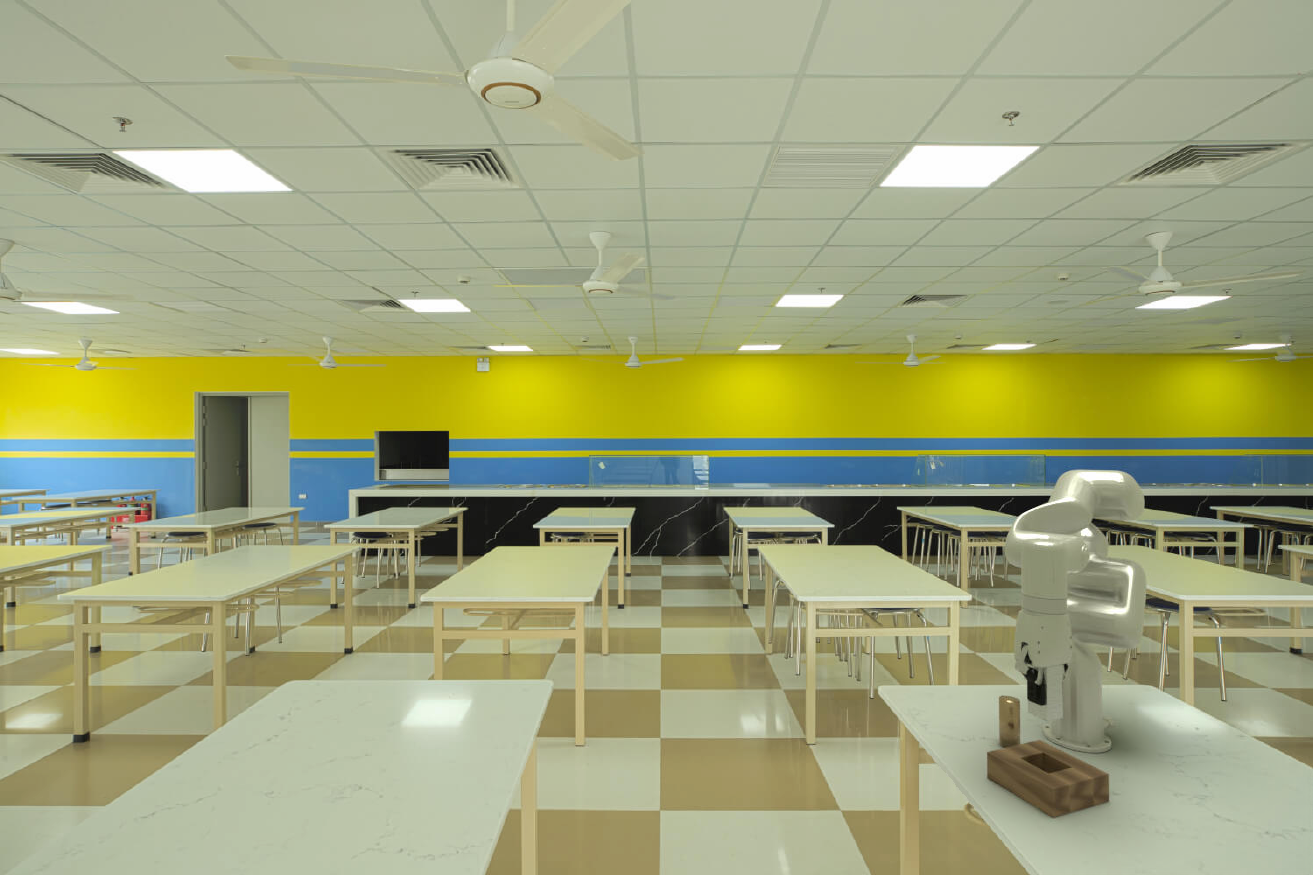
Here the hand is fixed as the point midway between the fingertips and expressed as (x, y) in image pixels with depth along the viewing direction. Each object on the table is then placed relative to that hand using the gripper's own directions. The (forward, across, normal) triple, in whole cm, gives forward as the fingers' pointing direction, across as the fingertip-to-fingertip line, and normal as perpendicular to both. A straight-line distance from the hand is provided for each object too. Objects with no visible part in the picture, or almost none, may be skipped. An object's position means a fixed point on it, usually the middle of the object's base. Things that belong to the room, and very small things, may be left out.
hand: (1044, 699), depth 120 cm
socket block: (+17, 0, 0) cm, 17 cm away
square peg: (+3, 0, 0) cm, 3 cm away
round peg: (+17, -8, -15) cm, 24 cm away
